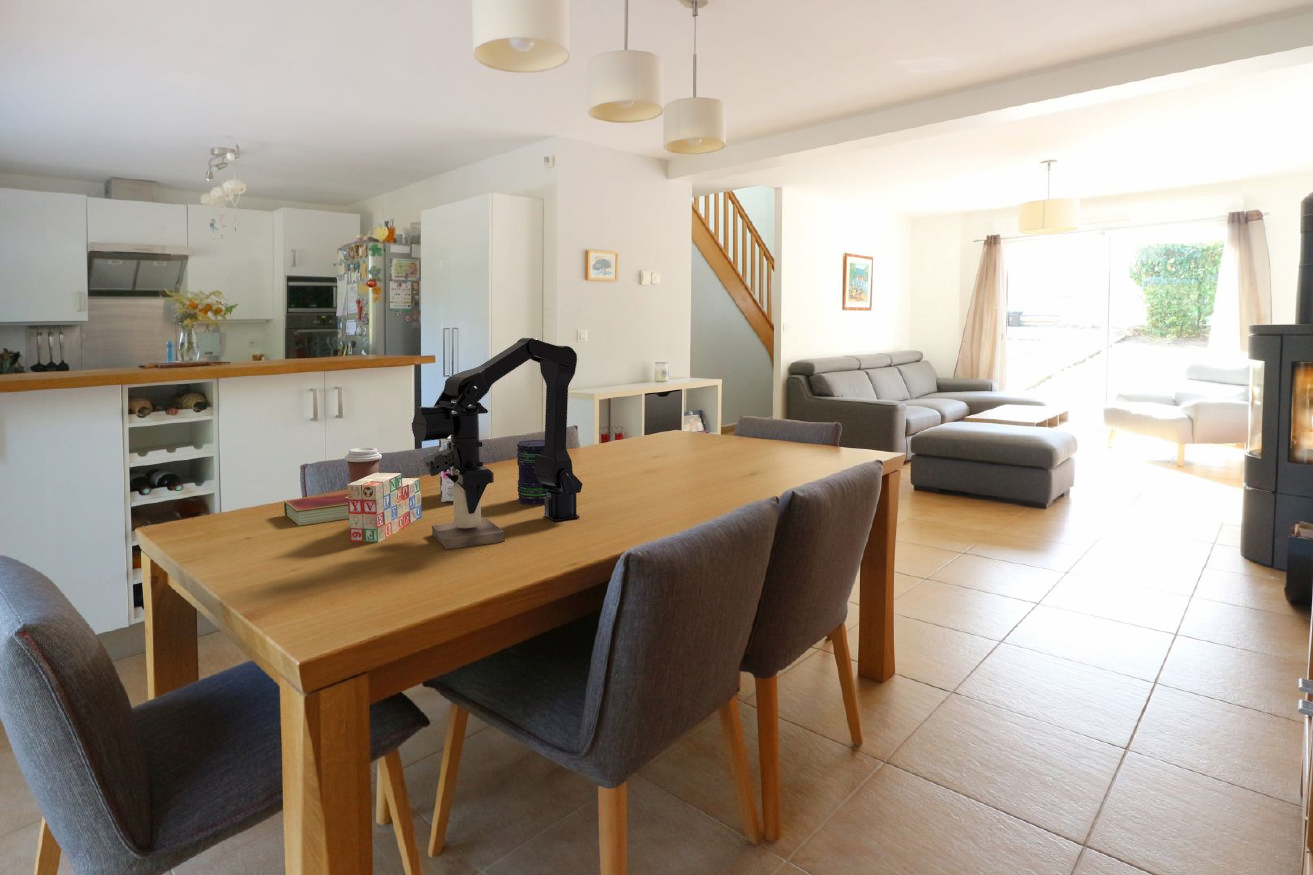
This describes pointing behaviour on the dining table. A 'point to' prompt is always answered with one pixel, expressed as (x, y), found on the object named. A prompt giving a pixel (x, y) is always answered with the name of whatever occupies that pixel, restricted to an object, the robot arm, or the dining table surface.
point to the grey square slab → (467, 534)
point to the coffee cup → (362, 462)
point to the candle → (464, 510)
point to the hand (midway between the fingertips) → (467, 510)
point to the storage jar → (529, 473)
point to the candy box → (445, 477)
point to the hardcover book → (317, 509)
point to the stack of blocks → (382, 505)
